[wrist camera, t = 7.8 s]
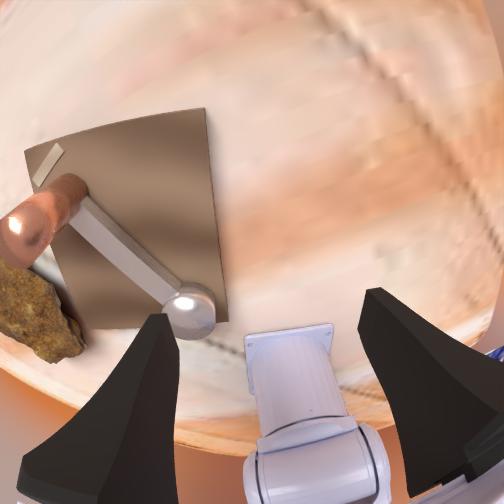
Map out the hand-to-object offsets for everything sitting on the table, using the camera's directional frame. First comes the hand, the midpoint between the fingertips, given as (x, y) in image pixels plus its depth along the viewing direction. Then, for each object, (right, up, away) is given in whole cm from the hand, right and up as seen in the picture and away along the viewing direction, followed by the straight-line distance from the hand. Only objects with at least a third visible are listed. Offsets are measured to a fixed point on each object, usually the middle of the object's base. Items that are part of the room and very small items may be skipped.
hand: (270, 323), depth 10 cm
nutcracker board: (-9, +4, +9) cm, 13 cm away
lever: (-8, +2, +8) cm, 12 cm away
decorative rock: (-21, -1, +11) cm, 24 cm away
